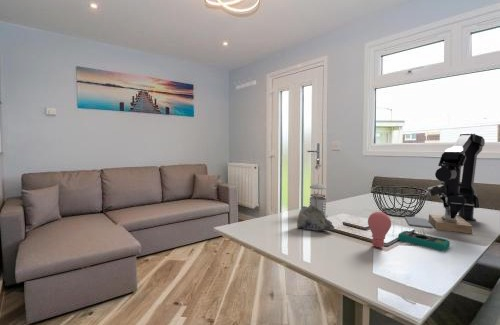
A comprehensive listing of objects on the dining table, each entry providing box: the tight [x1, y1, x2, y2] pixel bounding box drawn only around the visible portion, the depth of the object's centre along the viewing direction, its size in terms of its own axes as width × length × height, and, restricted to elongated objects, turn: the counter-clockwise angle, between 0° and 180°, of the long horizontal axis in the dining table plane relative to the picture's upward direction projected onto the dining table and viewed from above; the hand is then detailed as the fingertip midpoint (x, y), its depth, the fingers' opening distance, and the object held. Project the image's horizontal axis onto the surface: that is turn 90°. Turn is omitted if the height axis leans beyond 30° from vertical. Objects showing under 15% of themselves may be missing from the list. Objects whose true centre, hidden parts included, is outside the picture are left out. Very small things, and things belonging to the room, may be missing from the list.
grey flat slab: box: [404, 216, 434, 229], centre depth 124 cm, size 14×9×1 cm, turn 157°
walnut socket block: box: [428, 213, 473, 234], centre depth 119 cm, size 16×12×3 cm
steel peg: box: [442, 206, 456, 221], centre depth 119 cm, size 4×4×8 cm
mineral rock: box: [296, 204, 335, 231], centre depth 110 cm, size 13×11×10 cm
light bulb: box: [367, 211, 392, 248], centre depth 93 cm, size 7×7×12 cm
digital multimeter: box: [397, 230, 451, 252], centre depth 98 cm, size 7×15×3 cm, turn 42°
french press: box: [309, 163, 328, 218], centre depth 133 cm, size 10×12×25 cm
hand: (449, 215), depth 119 cm, fingers open, 9 cm apart
